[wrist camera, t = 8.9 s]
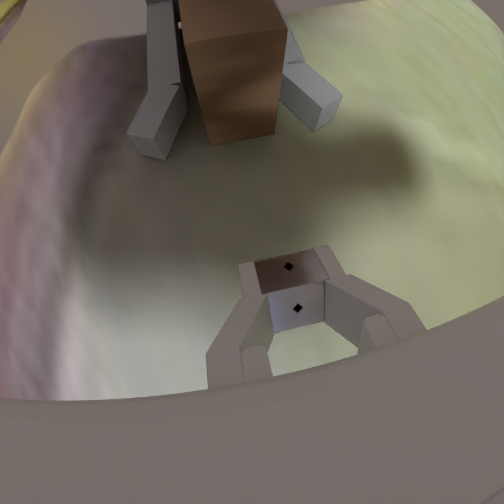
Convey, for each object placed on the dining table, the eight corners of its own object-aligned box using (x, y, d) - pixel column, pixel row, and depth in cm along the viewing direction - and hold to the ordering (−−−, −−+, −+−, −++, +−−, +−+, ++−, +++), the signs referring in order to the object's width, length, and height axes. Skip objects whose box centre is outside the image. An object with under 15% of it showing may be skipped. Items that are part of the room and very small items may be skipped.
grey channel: (142, 166, 16) (118, 137, 13) (138, 22, 18) (127, -8, 15) (336, 130, 16) (353, 95, 13) (277, -2, 18) (280, -34, 15)
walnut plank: (210, 146, 16) (184, 44, 8) (189, 21, 18) (172, -61, 10) (274, 134, 17) (287, 29, 9) (235, 13, 18) (231, -70, 10)
